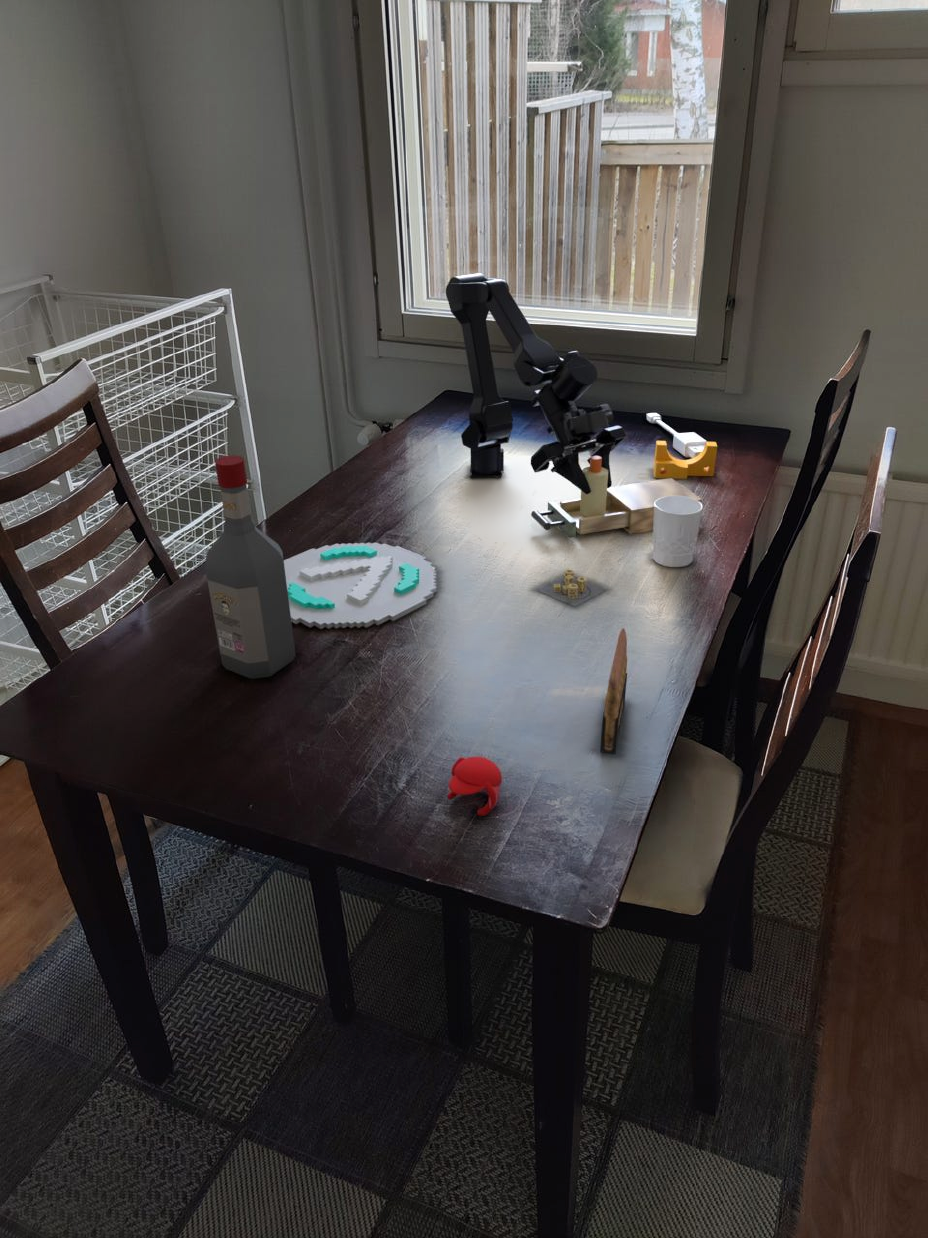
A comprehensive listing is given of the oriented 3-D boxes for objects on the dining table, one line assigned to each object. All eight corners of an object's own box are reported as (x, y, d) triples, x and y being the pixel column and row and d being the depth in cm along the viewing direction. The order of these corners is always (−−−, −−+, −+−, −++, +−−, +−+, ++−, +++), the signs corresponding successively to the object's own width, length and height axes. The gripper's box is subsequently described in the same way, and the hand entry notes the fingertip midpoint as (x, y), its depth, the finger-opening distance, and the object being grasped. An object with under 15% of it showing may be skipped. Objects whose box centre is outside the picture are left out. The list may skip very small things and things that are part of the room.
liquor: (261, 685, 126) (229, 478, 111) (213, 666, 130) (176, 465, 115) (305, 654, 132) (281, 455, 117) (258, 637, 137) (229, 443, 122)
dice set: (568, 578, 151) (568, 568, 150) (592, 589, 148) (593, 578, 147) (548, 589, 148) (548, 578, 147) (572, 600, 145) (573, 589, 144)
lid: (471, 580, 151) (471, 571, 150) (340, 648, 134) (339, 638, 133) (358, 533, 168) (357, 525, 167) (229, 587, 150) (227, 579, 149)
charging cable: (658, 420, 224) (660, 407, 222) (714, 461, 195) (716, 446, 194) (639, 422, 223) (640, 408, 221) (692, 463, 195) (693, 448, 193)
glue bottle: (581, 517, 166) (584, 462, 160) (578, 507, 170) (581, 452, 164) (606, 517, 166) (610, 462, 160) (603, 507, 170) (607, 452, 164)
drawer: (548, 542, 162) (548, 525, 160) (526, 520, 170) (527, 504, 168) (636, 527, 166) (638, 511, 165) (611, 507, 174) (613, 491, 173)
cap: (457, 777, 108) (456, 736, 105) (507, 785, 107) (507, 744, 104) (438, 823, 102) (437, 781, 99) (491, 832, 100) (491, 789, 97)
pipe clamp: (655, 477, 189) (657, 447, 186) (653, 470, 193) (656, 440, 190) (714, 479, 188) (718, 449, 185) (711, 471, 192) (715, 441, 188)
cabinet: (630, 534, 166) (632, 510, 163) (602, 510, 175) (604, 487, 173) (699, 522, 170) (702, 499, 167) (668, 500, 179) (671, 477, 176)
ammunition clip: (610, 702, 121) (616, 623, 115) (624, 704, 121) (631, 625, 114) (600, 752, 112) (606, 669, 106) (615, 754, 112) (622, 671, 106)
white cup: (700, 553, 159) (707, 499, 154) (690, 572, 152) (697, 517, 147) (655, 545, 161) (661, 492, 156) (643, 564, 155) (648, 509, 150)
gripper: (542, 400, 155) (582, 481, 153) (624, 381, 164) (662, 457, 162) (513, 432, 165) (550, 509, 162) (592, 413, 174) (628, 485, 171)
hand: (599, 490), depth 164 cm, fingers closed on glue bottle, 4 cm apart
